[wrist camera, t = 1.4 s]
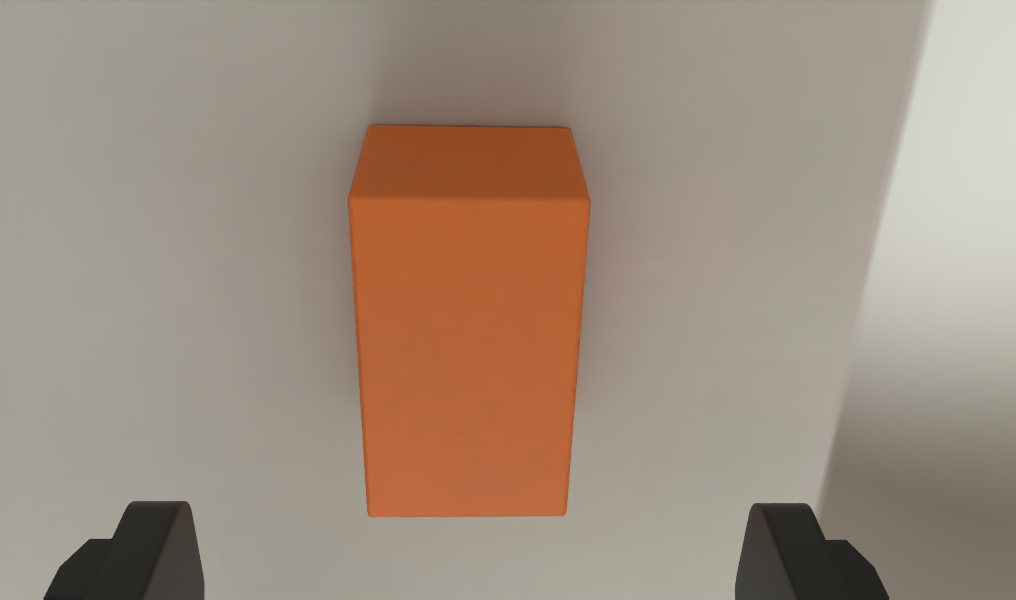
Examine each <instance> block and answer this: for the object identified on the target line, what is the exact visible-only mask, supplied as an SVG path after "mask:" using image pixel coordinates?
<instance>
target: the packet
mask: <svg viewBox="0 0 1016 600" xmlns="http://www.w3.org/2000/svg"><path fill="white" fill-rule="evenodd" d="M348 207H349V223H350V239H351V255H352V271H353V288H354V304H355V320H356V336H357V352H358V369H359V385H360V401H361V417H362V433H363V450H364V466H365V482H366V498H367V512H368V514H369V516H371V517H476V516H564V515H565V514H566V511H567V499H568V486H569V473H570V460H571V447H572V434H573V421H574V408H575V395H576V382H577V369H578V356H579V344H580V331H581V318H582V305H583V292H584V279H585V266H586V253H587V240H588V227H589V214H590V198H589V194H588V191H587V187H586V183H585V179H584V176H583V172H582V168H581V165H580V161H579V157H578V154H577V150H576V146H575V143H574V139H573V135H572V132H571V129H568V128H528V127H460V126H391V125H371V126H368V129H367V132H366V136H365V139H364V143H363V146H362V150H361V154H360V157H359V161H358V165H357V168H356V172H355V175H354V179H353V183H352V186H351V190H350V194H349V197H348Z"/></svg>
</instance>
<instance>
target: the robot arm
mask: <svg viewBox="0 0 1016 600" xmlns="http://www.w3.org/2000/svg"><path fill="white" fill-rule="evenodd" d="M43 599H44V600H204V577H203V571H202V565H201V560H200V554H199V549H198V543H197V538H196V532H195V527H194V521H193V516H192V511H191V507H190V505H189V503H188V502H186V501H133V502H131V503H130V504H129V505H128V506H127V508H126V510H125V512H124V514H123V516H122V518H121V520H120V523H119V525H118V527H117V529H116V531H115V533H114V535H113V538H112V539H89V540H88V541H87V542H86V543H85V544H84V545H83V546H81V547H80V548H79V549H78V550H77V551H76V552H75V553H74V554H73V555H72V556H71V557H70V558H69V559H68V560H67V561H66V562H64V563H63V564H62V565H61V566H60V567H59V569H58V571H57V573H56V575H55V577H54V579H53V581H52V583H51V585H50V587H49V589H48V591H47V593H46V595H45V597H44V598H43ZM735 600H889V596H888V594H887V592H886V590H885V588H884V586H883V584H882V582H881V580H880V578H879V576H878V574H877V572H876V570H875V568H874V566H872V565H871V564H870V563H869V562H868V561H867V560H866V559H865V558H864V557H863V556H862V555H861V554H860V553H859V552H858V551H857V550H856V549H855V548H854V547H853V546H852V545H851V544H850V543H849V542H848V541H847V540H825V537H824V535H823V533H822V531H821V528H820V526H819V524H818V522H817V520H816V517H815V515H814V513H813V511H812V509H811V508H810V506H809V505H807V504H805V503H755V504H754V505H753V506H752V507H751V510H750V513H749V517H748V522H747V527H746V532H745V537H744V542H743V547H742V552H741V556H740V561H739V566H738V571H737V576H736V584H735Z"/></svg>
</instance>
